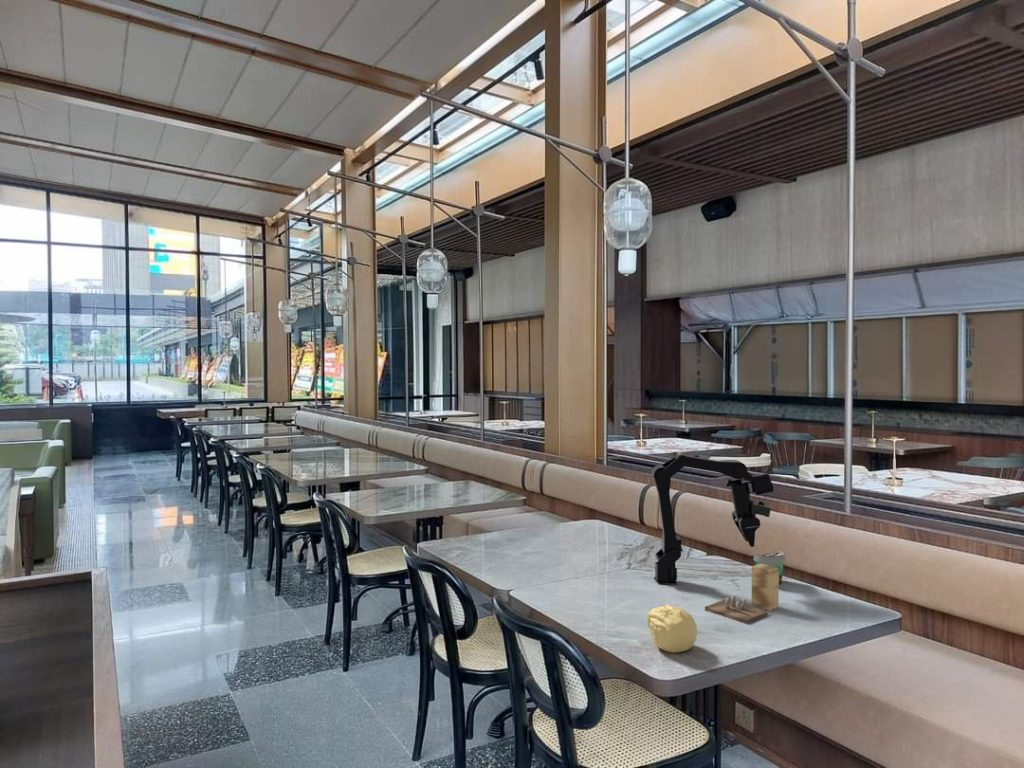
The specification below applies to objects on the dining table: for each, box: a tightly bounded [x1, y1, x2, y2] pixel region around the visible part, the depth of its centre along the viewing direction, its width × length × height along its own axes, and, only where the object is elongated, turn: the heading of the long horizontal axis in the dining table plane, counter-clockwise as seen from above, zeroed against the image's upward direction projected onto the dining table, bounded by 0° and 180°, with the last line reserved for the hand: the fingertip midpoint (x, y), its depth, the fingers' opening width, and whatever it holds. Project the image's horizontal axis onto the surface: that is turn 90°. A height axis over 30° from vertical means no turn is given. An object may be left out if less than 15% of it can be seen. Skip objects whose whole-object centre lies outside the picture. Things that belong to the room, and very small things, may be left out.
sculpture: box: [646, 604, 698, 654], centre depth 172 cm, size 12×12×11 cm
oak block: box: [751, 564, 780, 611], centre depth 202 cm, size 6×5×12 cm
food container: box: [753, 550, 786, 586], centre depth 224 cm, size 12×6×10 cm, turn 117°
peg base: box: [704, 595, 769, 625], centre depth 197 cm, size 14×11×4 cm
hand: (749, 543), depth 222 cm, fingers open, 9 cm apart
